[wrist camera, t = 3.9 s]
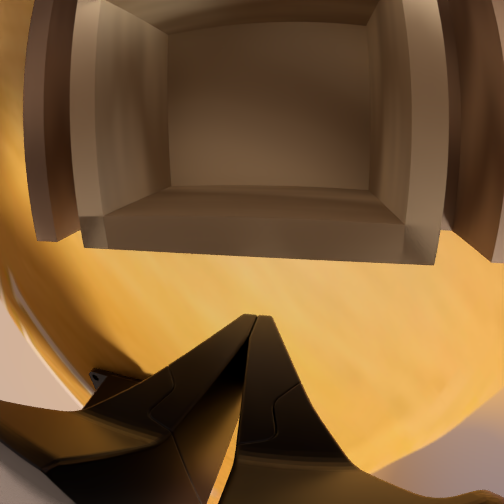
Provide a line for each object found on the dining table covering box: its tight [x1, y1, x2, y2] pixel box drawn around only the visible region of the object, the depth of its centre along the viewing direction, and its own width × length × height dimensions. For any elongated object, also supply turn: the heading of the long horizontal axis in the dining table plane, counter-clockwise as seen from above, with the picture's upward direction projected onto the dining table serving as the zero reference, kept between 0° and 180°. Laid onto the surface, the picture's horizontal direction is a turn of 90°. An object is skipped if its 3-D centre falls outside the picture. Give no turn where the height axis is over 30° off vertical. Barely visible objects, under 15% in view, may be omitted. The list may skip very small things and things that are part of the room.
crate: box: [70, 0, 449, 265], centre depth 7 cm, size 7×8×4 cm
